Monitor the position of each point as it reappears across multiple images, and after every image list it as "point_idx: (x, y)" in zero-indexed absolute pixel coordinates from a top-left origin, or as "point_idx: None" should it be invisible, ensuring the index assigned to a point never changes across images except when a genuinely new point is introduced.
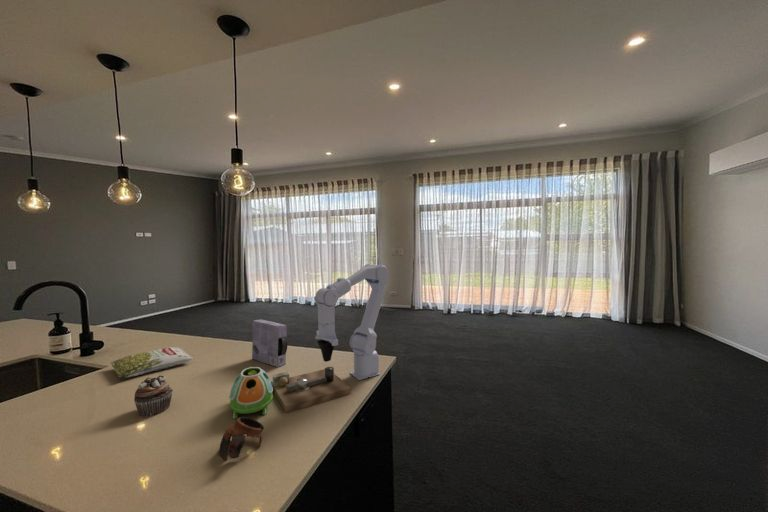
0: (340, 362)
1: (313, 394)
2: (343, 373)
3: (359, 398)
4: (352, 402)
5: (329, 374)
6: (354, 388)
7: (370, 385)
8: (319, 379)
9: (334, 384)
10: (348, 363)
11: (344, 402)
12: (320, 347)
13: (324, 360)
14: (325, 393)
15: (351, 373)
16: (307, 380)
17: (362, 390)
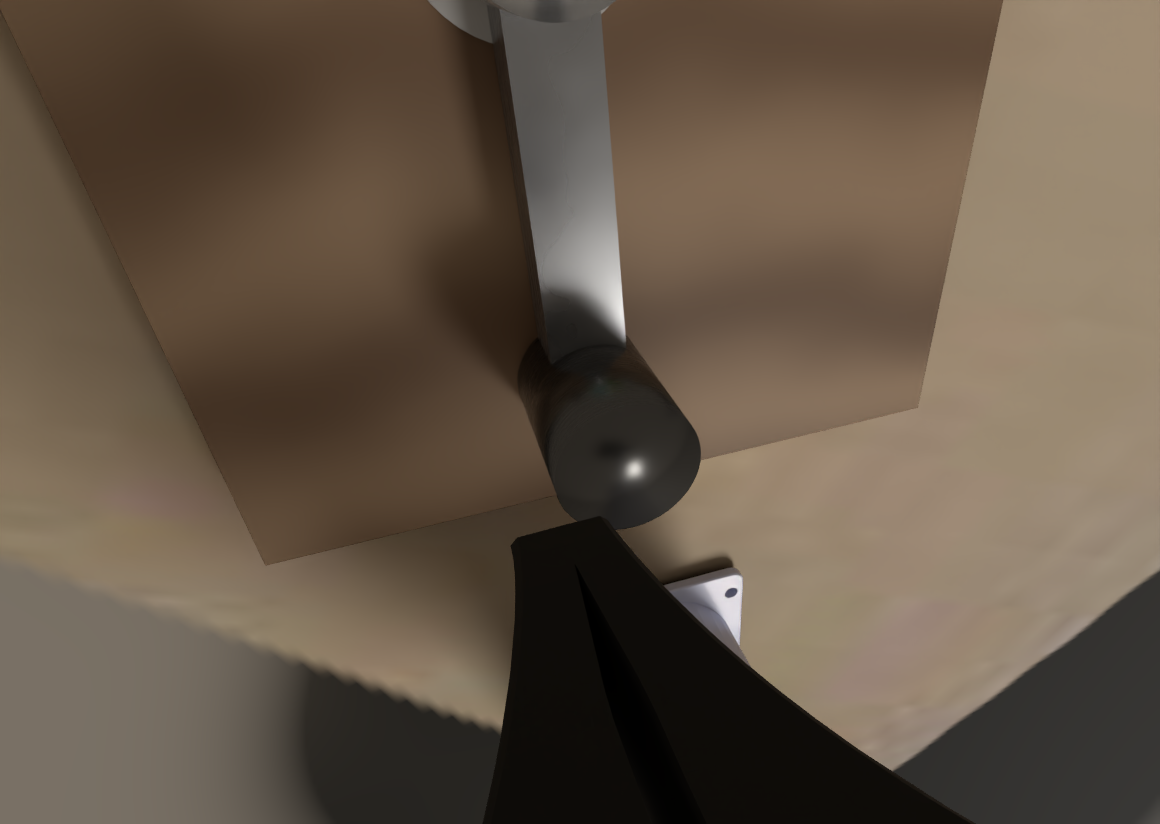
0: (1009, 516)
1: (174, 46)
2: (773, 511)
3: (113, 579)
4: (19, 507)
5: (540, 426)
6: (382, 562)
7: (388, 685)
8: (539, 250)
9: (431, 411)
10: (936, 573)
11: (36, 428)
12: (818, 797)
13: (545, 543)
14: (163, 250)
15: (702, 582)
16: (509, 12)
17: (304, 620)
